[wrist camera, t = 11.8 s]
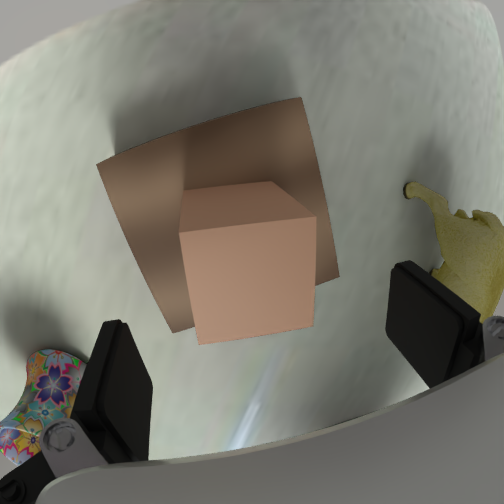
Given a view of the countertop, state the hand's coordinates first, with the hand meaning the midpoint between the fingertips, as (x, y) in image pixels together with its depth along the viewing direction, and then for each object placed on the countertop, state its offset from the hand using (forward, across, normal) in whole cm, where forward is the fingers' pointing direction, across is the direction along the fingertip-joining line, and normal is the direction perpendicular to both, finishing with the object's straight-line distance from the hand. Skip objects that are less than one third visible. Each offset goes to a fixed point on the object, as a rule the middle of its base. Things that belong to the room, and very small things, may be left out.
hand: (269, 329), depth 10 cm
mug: (+14, +19, +14) cm, 28 cm away
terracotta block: (+9, 0, -1) cm, 9 cm away
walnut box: (+14, 0, -1) cm, 14 cm away
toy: (+14, -18, +8) cm, 24 cm away
